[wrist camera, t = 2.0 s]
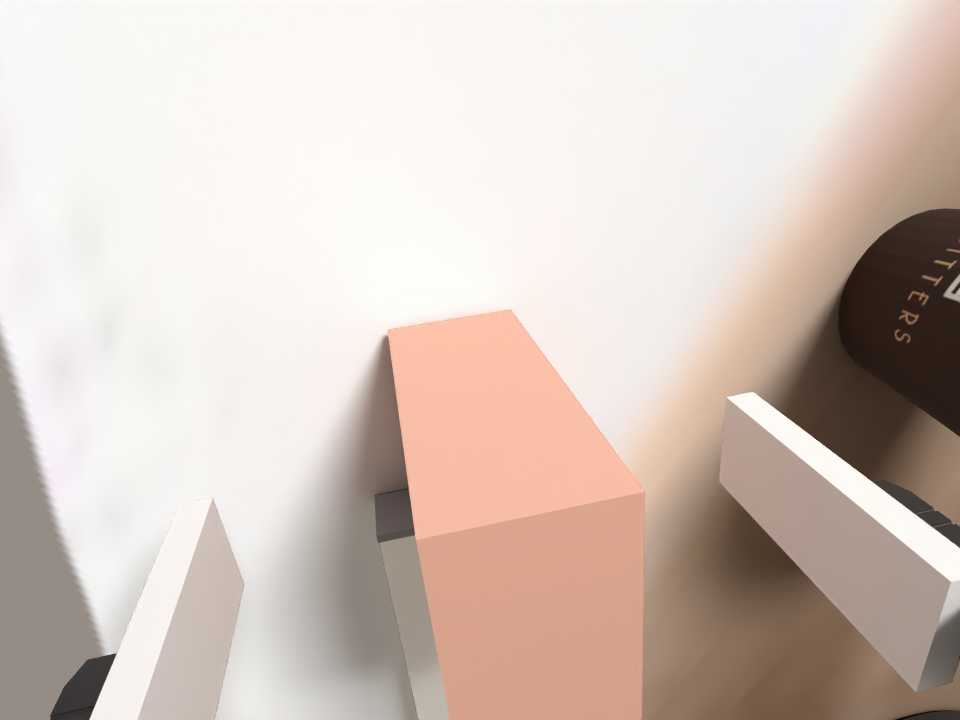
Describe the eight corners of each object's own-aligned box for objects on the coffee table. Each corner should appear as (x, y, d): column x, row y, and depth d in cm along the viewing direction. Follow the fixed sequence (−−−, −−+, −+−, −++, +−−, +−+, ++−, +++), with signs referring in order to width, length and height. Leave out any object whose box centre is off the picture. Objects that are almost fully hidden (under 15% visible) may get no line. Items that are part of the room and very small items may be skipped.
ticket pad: (575, 710, 28) (592, 756, 26) (429, 748, 27) (435, 798, 26) (561, 458, 22) (581, 493, 20) (374, 495, 22) (376, 535, 20)
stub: (524, 463, 22) (642, 718, 13) (415, 485, 21) (459, 767, 12) (510, 309, 19) (644, 491, 10) (387, 329, 19) (415, 539, 10)
